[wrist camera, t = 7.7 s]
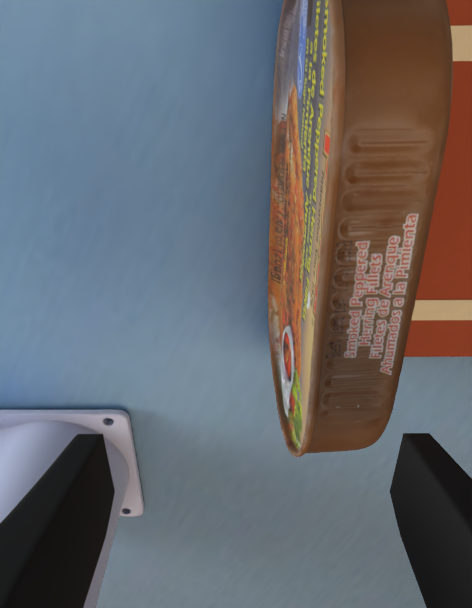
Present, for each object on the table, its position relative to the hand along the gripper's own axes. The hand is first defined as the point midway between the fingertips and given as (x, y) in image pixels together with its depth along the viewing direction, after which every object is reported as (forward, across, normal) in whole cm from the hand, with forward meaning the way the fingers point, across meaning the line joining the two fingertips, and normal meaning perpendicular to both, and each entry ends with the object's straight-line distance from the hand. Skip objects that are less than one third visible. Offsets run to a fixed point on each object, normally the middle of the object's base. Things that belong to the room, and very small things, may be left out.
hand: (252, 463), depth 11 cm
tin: (+10, -2, -4) cm, 11 cm away
